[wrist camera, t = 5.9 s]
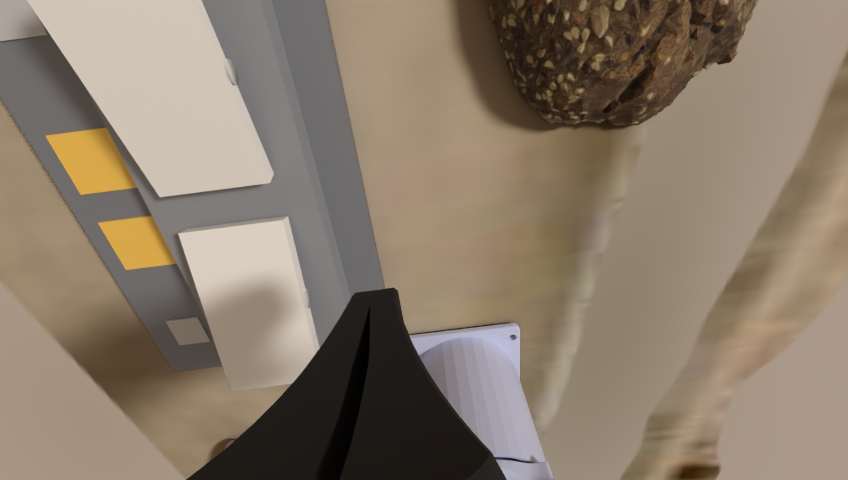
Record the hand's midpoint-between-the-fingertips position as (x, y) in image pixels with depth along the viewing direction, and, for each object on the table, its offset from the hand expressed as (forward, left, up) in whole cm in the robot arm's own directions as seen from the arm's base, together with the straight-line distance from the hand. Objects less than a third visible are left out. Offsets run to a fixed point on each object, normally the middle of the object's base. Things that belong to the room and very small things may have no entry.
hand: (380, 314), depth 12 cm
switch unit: (+2, +9, -10) cm, 14 cm away
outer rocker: (+7, +7, -7) cm, 12 cm away
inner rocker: (-4, +7, -7) cm, 11 cm away
